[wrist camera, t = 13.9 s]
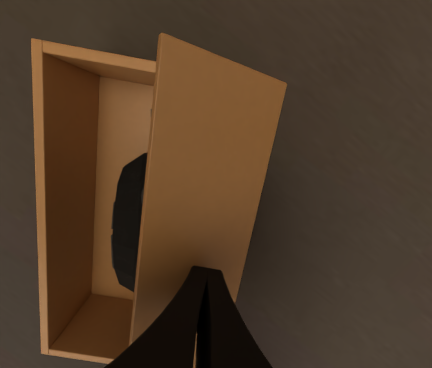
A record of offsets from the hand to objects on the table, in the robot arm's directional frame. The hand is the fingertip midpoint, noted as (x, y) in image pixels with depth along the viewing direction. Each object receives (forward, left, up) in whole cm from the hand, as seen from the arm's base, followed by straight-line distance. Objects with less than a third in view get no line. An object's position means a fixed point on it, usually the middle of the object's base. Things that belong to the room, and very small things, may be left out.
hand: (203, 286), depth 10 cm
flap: (0, 0, -1) cm, 1 cm away
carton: (0, +4, -8) cm, 9 cm away
